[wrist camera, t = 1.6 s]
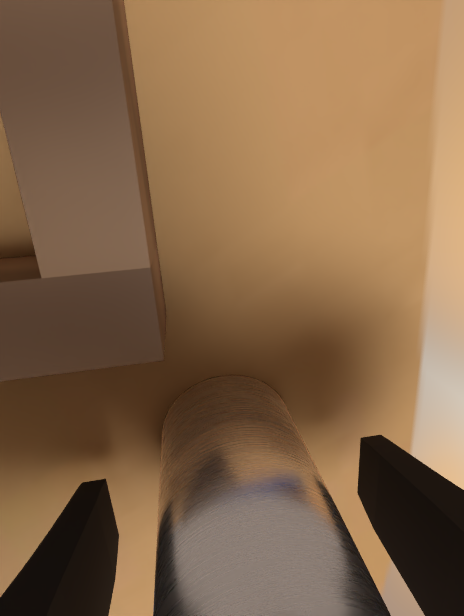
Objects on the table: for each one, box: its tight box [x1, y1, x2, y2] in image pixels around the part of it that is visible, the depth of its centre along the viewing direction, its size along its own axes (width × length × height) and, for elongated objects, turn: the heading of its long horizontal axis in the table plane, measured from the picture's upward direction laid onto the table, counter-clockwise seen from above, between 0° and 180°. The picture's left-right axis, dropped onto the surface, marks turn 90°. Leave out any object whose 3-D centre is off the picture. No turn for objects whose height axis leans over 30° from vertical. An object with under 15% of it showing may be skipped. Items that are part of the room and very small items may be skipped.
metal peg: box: [153, 375, 391, 616], centre depth 9 cm, size 4×4×7 cm
